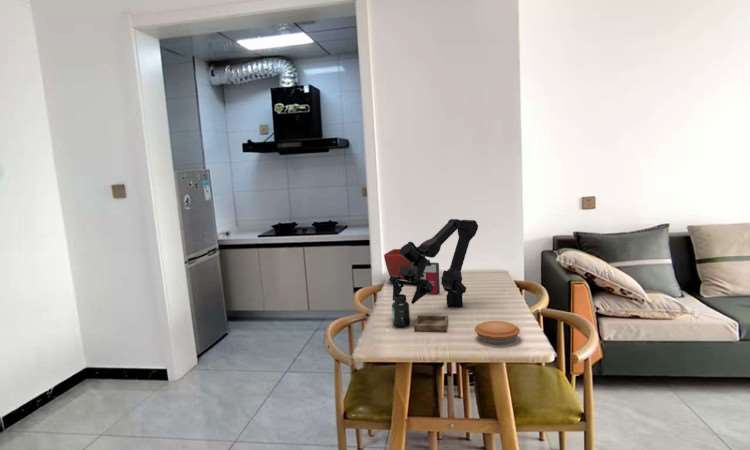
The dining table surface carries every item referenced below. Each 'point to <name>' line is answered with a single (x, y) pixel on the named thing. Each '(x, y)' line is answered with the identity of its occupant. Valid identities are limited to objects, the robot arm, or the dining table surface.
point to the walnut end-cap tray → (431, 323)
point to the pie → (497, 332)
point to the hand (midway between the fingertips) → (402, 301)
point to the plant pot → (395, 262)
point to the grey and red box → (433, 277)
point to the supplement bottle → (400, 311)
